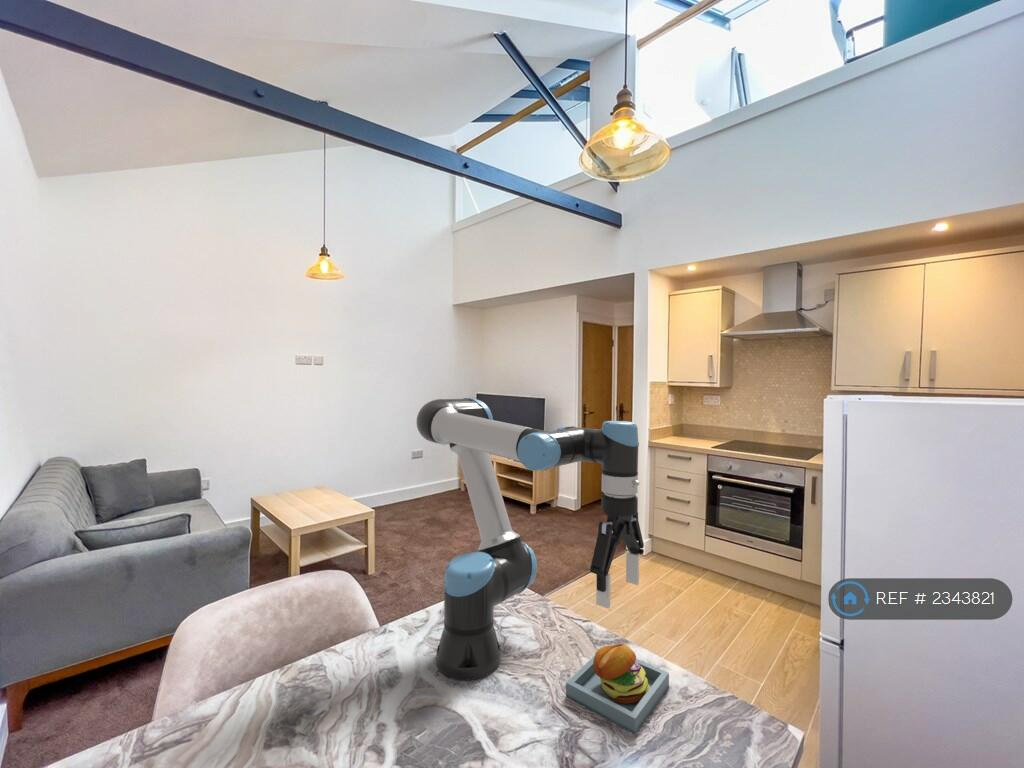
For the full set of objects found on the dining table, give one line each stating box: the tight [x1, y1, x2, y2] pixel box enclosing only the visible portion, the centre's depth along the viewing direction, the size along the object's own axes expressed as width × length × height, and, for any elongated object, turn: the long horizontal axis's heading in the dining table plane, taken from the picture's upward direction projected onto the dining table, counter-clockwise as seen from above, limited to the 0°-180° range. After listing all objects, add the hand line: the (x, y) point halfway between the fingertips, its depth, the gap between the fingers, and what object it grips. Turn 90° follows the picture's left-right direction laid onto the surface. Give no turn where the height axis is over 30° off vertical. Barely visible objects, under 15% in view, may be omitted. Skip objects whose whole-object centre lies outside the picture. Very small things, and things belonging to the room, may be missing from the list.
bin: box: [565, 655, 670, 736], centre depth 92 cm, size 15×17×3 cm
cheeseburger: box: [593, 643, 650, 704], centre depth 92 cm, size 10×11×10 cm
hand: (618, 593), depth 93 cm, fingers open, 13 cm apart
